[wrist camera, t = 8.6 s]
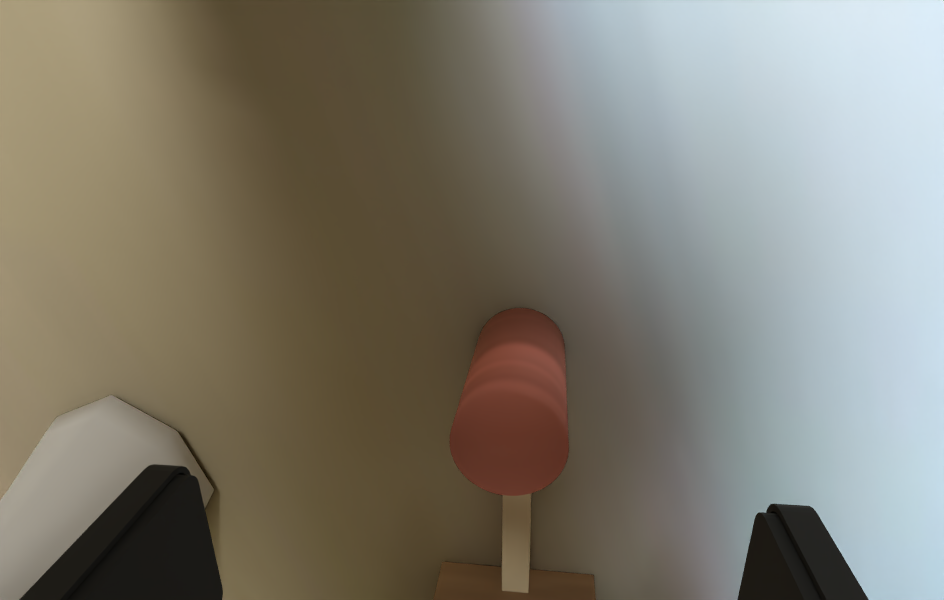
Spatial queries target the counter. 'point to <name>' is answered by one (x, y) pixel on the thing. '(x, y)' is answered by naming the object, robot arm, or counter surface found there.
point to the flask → (79, 483)
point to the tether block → (513, 452)
